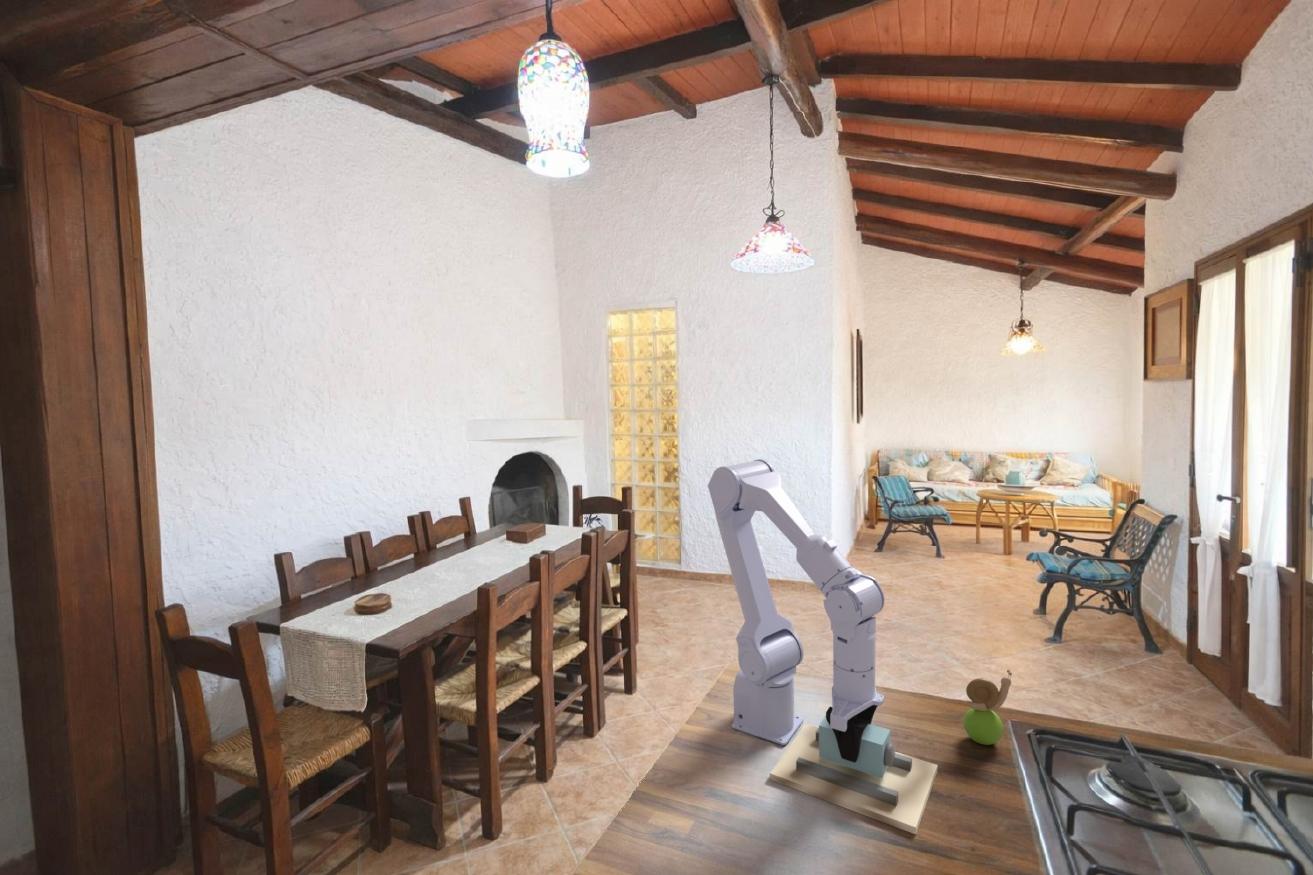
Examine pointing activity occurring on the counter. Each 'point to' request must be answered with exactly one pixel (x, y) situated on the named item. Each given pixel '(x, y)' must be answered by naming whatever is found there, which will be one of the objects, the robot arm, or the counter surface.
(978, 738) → the snail figurine
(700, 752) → the counter surface
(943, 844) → the counter surface
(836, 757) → the pale blue tall carton
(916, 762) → the jig board
